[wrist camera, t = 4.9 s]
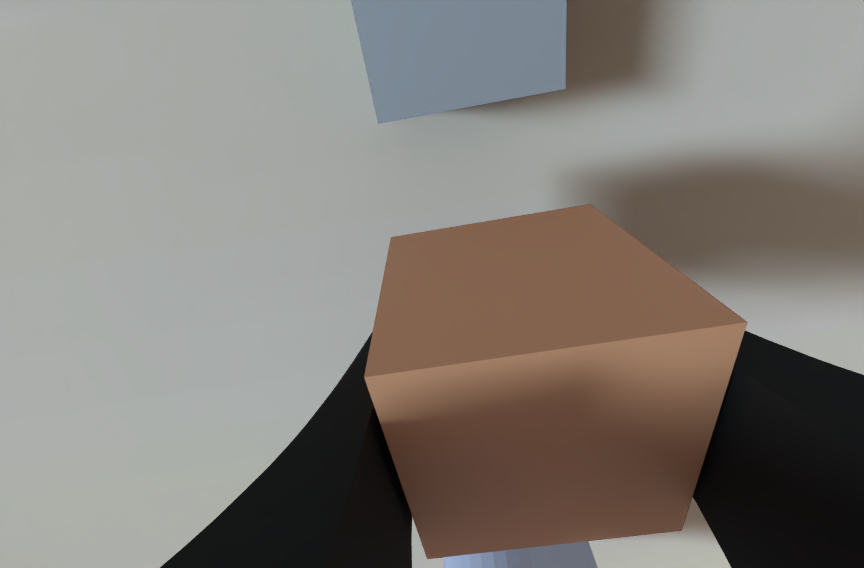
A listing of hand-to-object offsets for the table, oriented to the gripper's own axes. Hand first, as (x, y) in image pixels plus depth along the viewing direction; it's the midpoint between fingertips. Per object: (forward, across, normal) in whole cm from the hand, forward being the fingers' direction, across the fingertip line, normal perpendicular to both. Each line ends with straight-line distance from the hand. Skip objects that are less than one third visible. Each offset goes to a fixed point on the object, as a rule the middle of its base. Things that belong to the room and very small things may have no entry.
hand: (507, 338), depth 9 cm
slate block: (+8, 0, -8) cm, 11 cm away
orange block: (+2, 0, 0) cm, 2 cm away
